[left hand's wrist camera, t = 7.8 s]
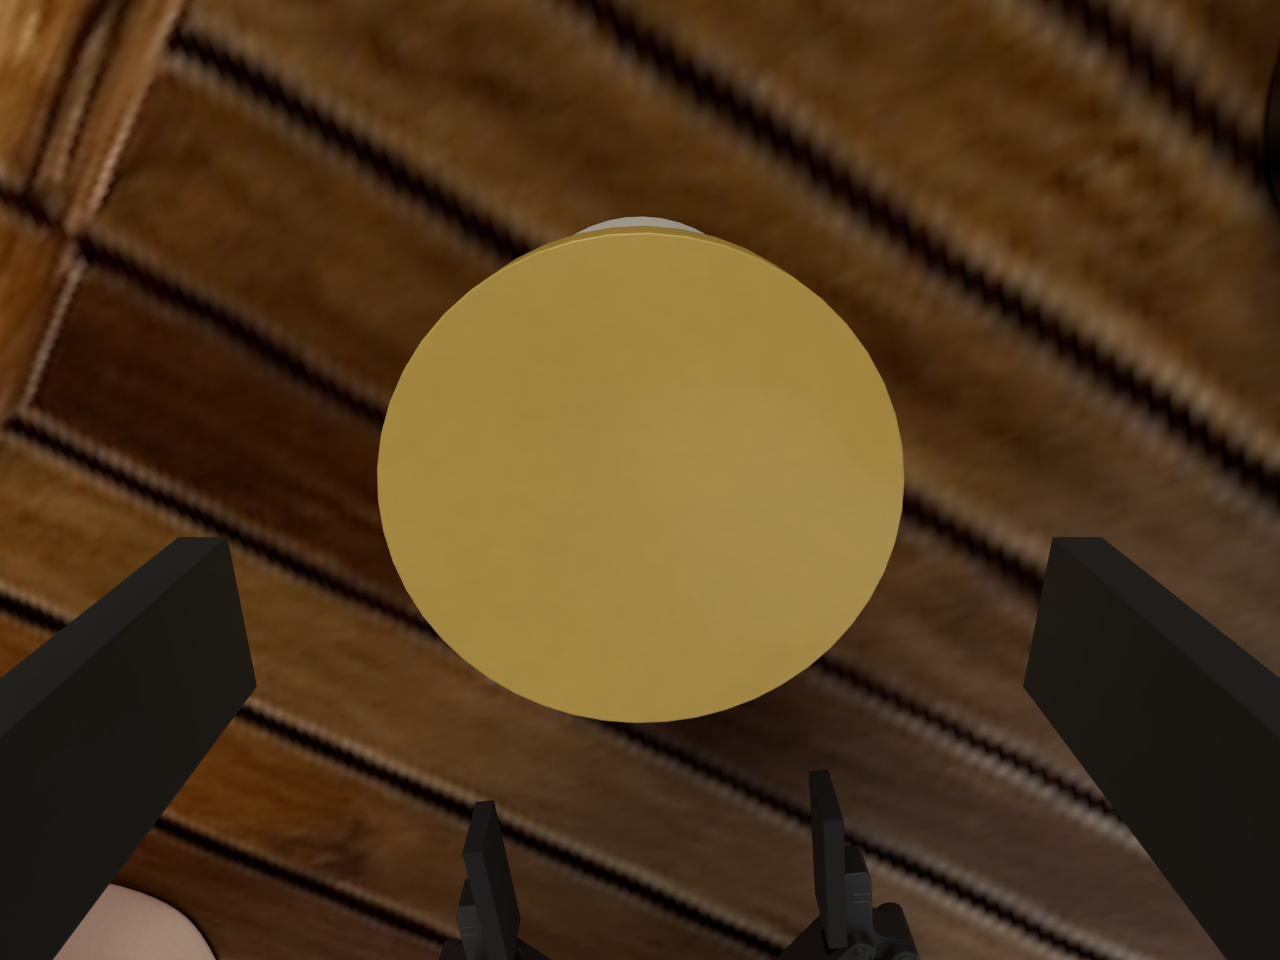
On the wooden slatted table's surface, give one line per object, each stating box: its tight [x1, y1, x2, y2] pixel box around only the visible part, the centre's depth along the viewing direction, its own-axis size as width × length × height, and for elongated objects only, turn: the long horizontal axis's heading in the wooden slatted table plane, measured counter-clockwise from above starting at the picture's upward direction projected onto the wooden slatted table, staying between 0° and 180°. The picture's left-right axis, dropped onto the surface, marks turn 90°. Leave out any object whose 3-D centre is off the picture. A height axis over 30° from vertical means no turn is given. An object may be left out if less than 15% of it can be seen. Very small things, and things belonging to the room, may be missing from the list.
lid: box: [377, 226, 904, 723], centre depth 18 cm, size 11×11×2 cm
